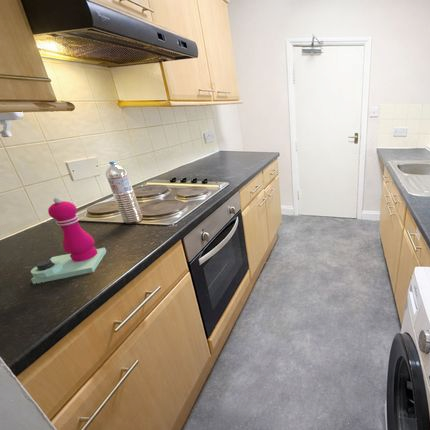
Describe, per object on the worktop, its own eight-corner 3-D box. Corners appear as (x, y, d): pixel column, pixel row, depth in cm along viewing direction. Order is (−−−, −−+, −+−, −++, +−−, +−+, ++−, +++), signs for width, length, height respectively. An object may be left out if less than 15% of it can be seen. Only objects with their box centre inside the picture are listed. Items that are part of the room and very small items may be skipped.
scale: (32, 285, 74) (25, 275, 72) (54, 261, 84) (49, 252, 83) (93, 273, 78) (88, 263, 77) (106, 251, 89) (102, 242, 87)
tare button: (36, 272, 74) (33, 267, 73) (42, 266, 77) (39, 261, 76) (50, 269, 75) (47, 264, 74) (56, 263, 78) (53, 258, 77)
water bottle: (122, 220, 110) (99, 161, 100) (141, 215, 114) (121, 158, 104) (125, 226, 106) (101, 164, 95) (145, 220, 110) (124, 161, 99)
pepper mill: (68, 256, 83) (38, 198, 75) (97, 247, 88) (71, 191, 80) (72, 265, 79) (39, 204, 70) (101, 255, 84) (74, 196, 75)
